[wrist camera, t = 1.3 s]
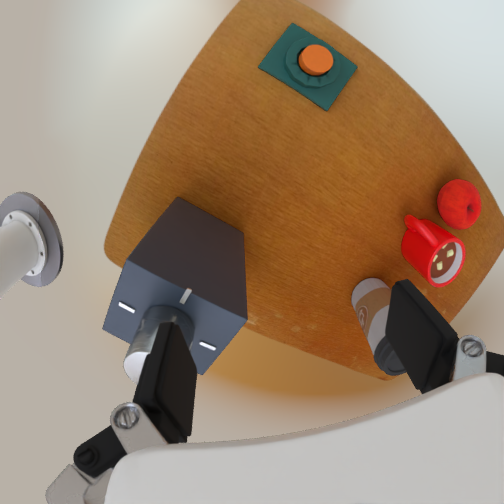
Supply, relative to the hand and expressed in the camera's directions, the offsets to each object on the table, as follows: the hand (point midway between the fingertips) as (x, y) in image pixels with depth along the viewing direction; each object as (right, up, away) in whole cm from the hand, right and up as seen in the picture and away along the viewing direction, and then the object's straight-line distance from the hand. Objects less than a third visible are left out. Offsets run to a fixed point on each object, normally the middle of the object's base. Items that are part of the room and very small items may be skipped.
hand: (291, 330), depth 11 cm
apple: (+29, +12, +24) cm, 40 cm away
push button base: (+5, +26, +16) cm, 31 cm away
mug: (+24, +6, +27) cm, 37 cm away
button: (+5, +25, +15) cm, 30 cm away
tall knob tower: (-9, +5, +26) cm, 28 cm away
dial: (-8, -3, +9) cm, 13 cm away
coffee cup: (+17, -3, +31) cm, 36 cm away
